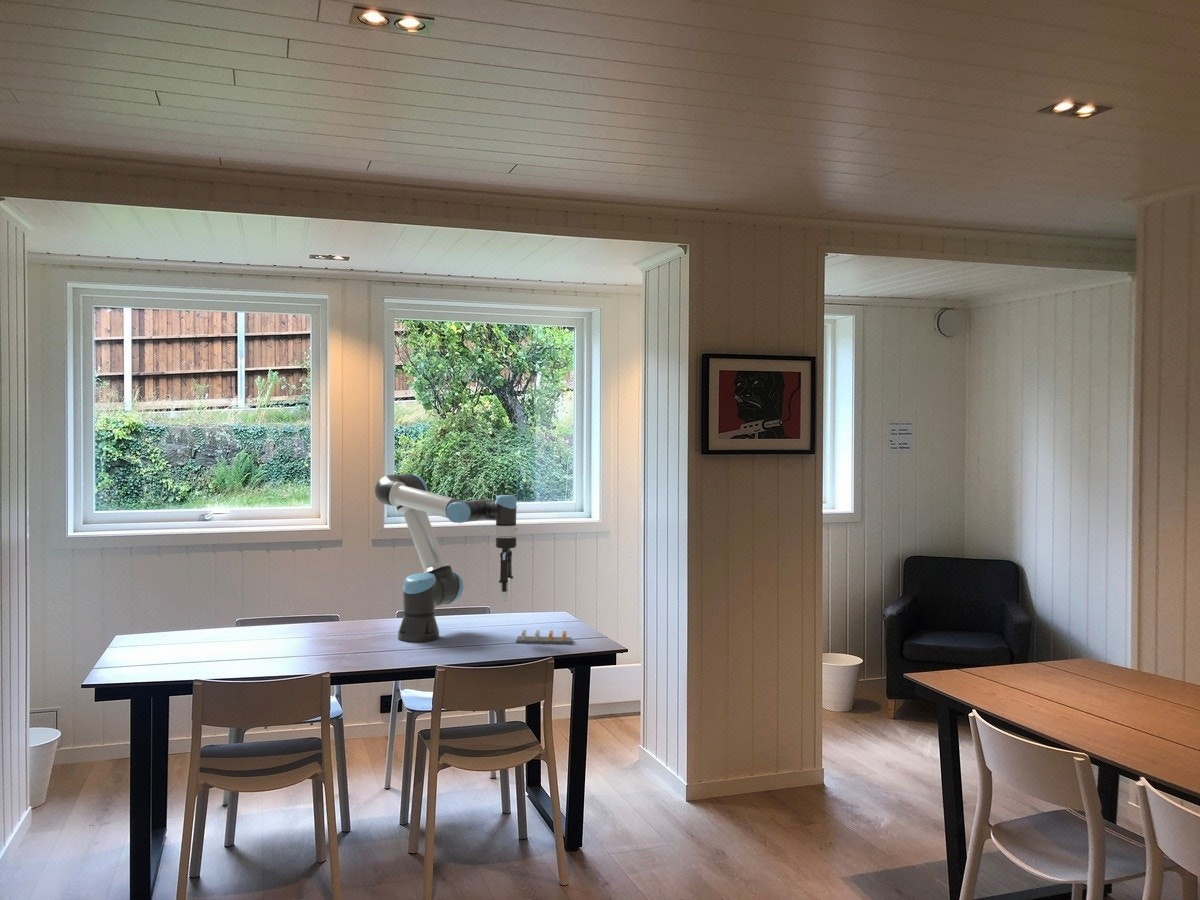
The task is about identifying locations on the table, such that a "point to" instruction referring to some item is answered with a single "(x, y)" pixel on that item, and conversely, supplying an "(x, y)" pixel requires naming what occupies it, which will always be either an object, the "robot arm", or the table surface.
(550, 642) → the rack
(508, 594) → the panel
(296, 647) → the table surface
